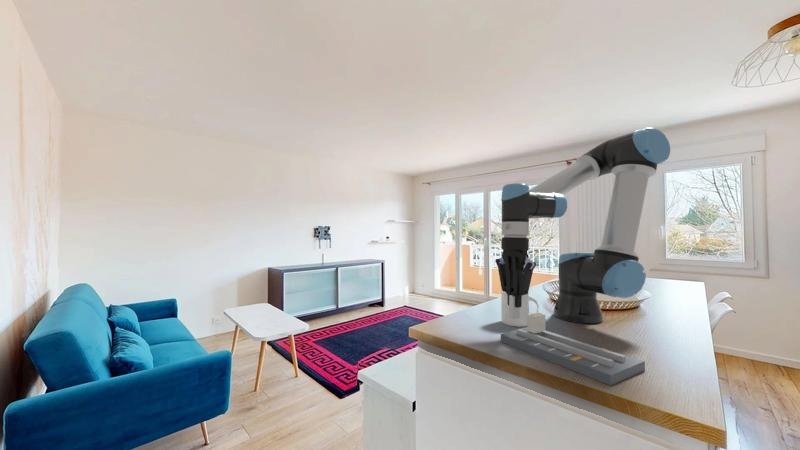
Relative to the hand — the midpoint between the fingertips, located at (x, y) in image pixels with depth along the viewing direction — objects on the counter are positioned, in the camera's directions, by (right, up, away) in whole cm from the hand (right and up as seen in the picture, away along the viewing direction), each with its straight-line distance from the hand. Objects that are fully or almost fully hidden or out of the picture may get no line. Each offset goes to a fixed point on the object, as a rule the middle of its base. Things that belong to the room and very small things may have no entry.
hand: (514, 317), depth 89 cm
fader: (+4, -3, -6) cm, 8 cm away
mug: (+7, -6, +13) cm, 16 cm away
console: (+8, -5, -13) cm, 16 cm away
